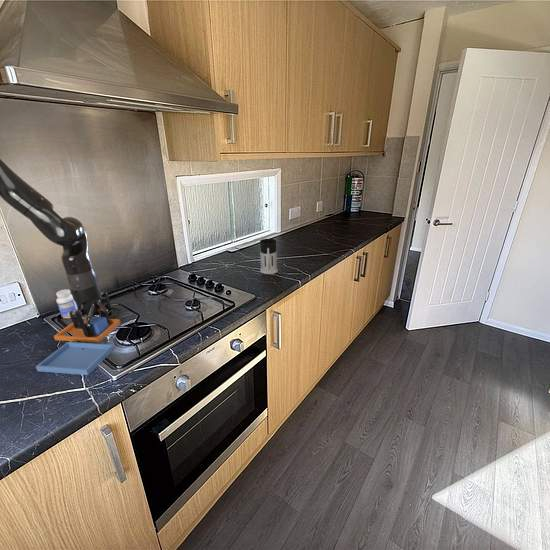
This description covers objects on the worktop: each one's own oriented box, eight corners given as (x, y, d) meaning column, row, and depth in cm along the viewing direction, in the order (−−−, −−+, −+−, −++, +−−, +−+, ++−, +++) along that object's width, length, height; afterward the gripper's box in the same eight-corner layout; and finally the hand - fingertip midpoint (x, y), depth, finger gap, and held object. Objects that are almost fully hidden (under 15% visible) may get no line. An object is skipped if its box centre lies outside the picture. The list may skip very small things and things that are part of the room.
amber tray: (55, 341, 93) (53, 336, 92) (81, 321, 103) (79, 317, 102) (98, 343, 91) (97, 338, 90) (120, 324, 101) (119, 319, 100)
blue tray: (37, 372, 80) (35, 366, 79) (69, 346, 90) (67, 341, 89) (88, 376, 78) (86, 370, 77) (114, 349, 88) (113, 344, 87)
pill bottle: (66, 312, 110) (58, 289, 106) (82, 310, 110) (74, 287, 107) (59, 320, 105) (50, 295, 101) (75, 318, 106) (67, 294, 102)
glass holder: (277, 266, 146) (277, 237, 140) (278, 278, 133) (278, 246, 127) (260, 267, 146) (258, 238, 140) (259, 279, 133) (257, 247, 127)
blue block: (88, 335, 95) (84, 323, 93) (97, 327, 99) (93, 316, 97) (100, 336, 94) (96, 324, 92) (109, 328, 98) (105, 317, 96)
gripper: (89, 274, 96) (102, 317, 103) (53, 294, 83) (71, 341, 90) (110, 275, 95) (122, 318, 102) (77, 295, 82) (93, 343, 89)
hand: (98, 329), depth 96 cm, fingers open, 7 cm apart
